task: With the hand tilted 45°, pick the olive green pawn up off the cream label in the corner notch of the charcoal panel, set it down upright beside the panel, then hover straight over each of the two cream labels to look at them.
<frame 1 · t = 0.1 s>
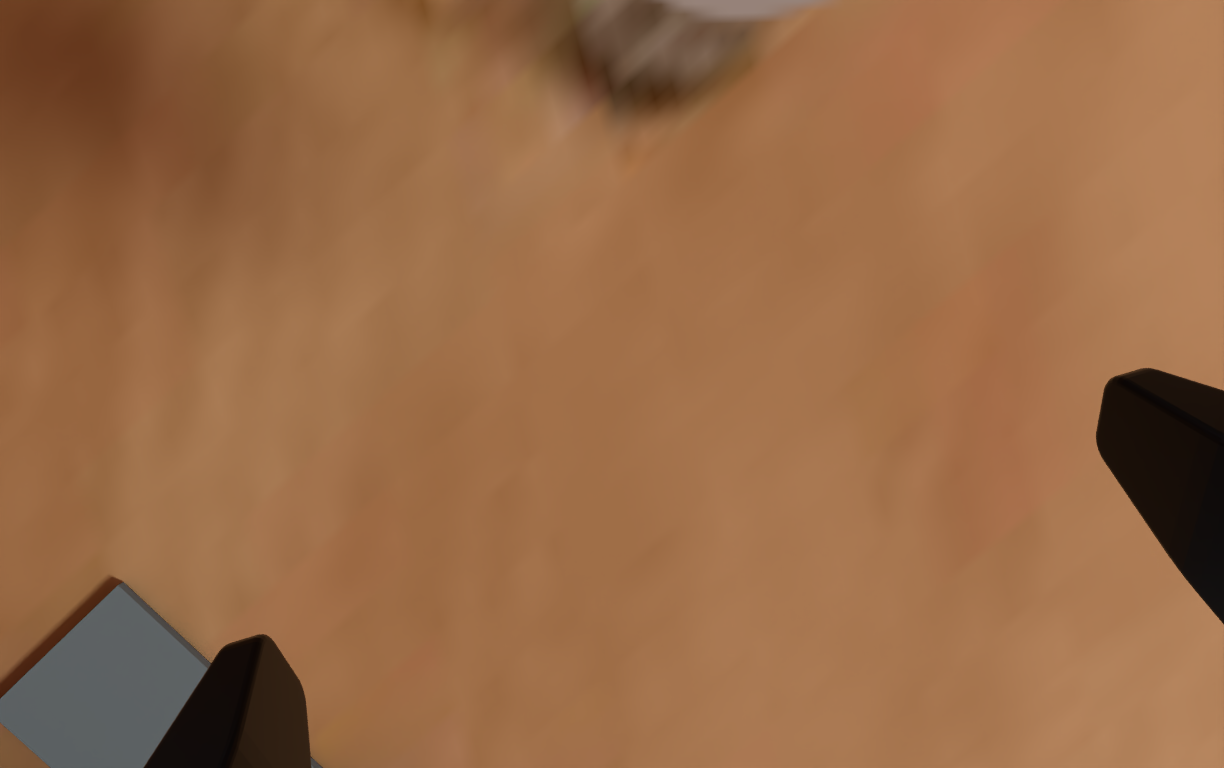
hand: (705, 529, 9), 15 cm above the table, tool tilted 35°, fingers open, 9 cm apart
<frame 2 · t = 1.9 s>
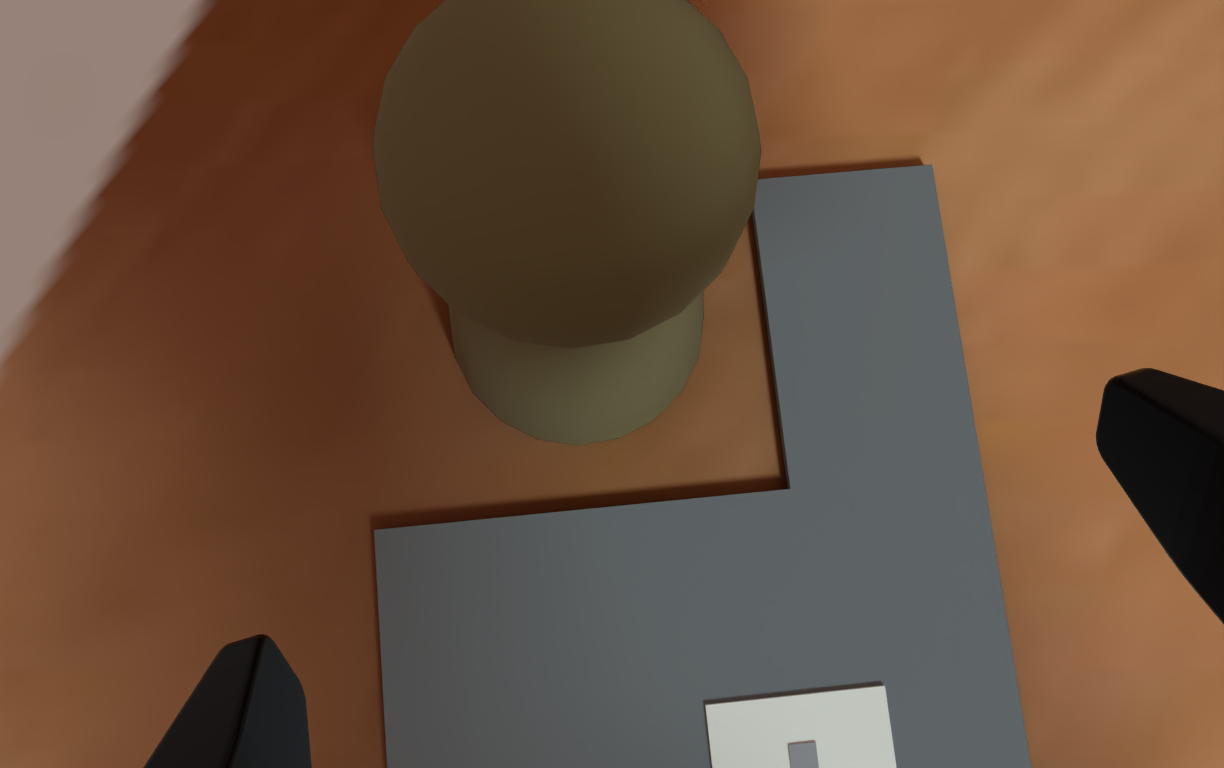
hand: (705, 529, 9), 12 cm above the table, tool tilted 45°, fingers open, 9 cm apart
label panel: (693, 610, 21), on the table
olive green pawn: (577, 320, 22), on the table, touching label panel
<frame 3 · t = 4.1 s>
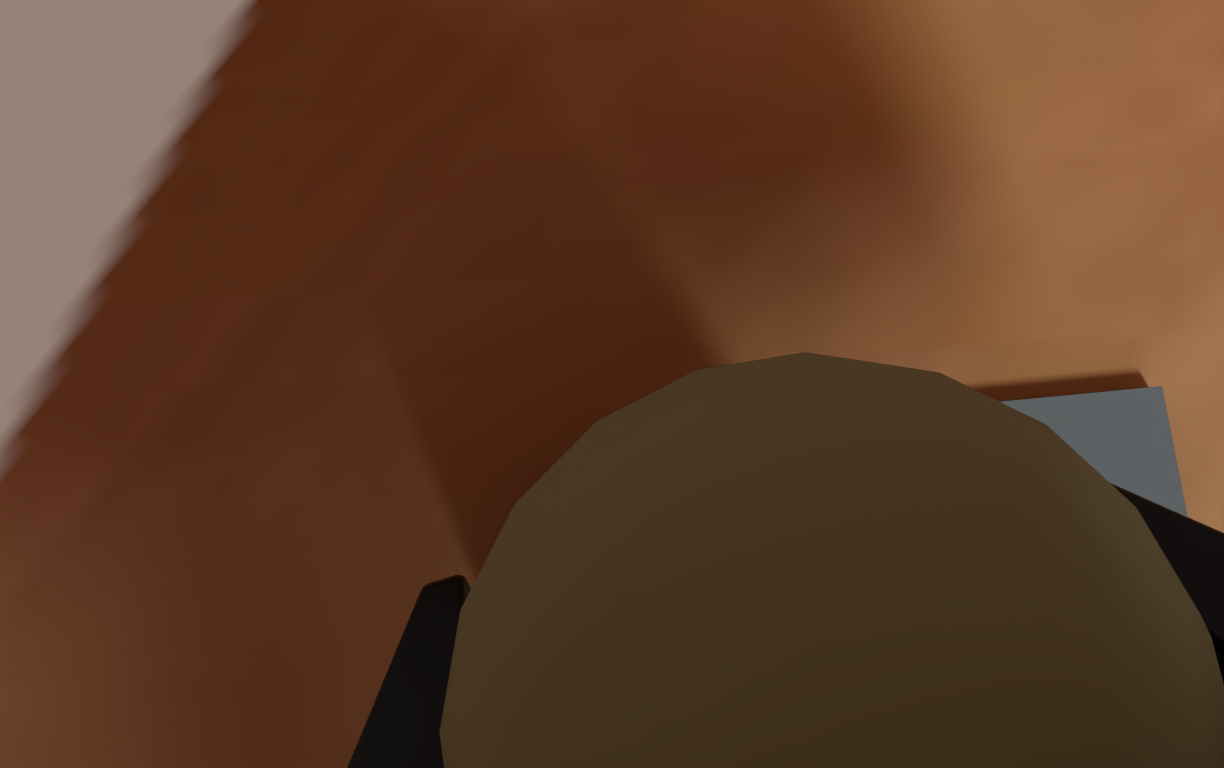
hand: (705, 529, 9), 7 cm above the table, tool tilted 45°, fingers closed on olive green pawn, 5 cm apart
olive green pawn: (679, 607, 16), on the table, touching gripper, label panel
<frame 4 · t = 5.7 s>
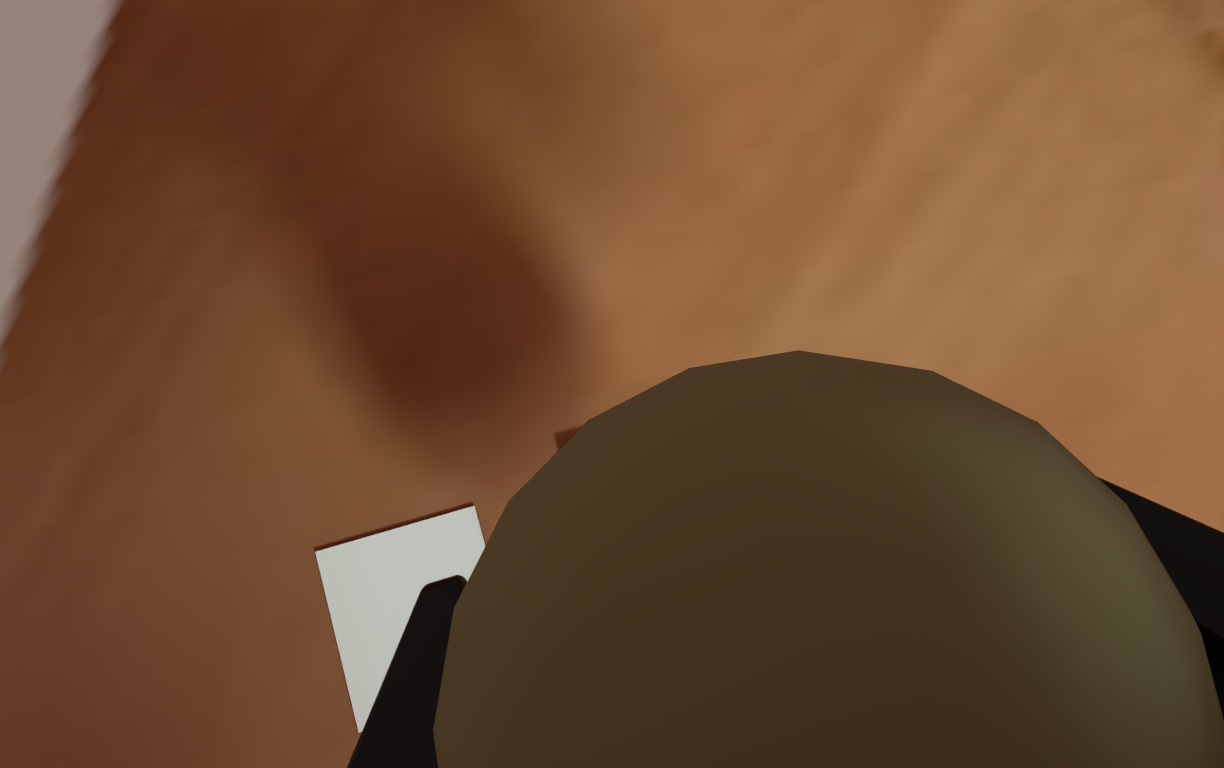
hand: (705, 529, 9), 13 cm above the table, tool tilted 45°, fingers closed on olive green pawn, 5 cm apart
olive green pawn: (672, 605, 16), point 7 cm above the table, touching gripper
when the fingers open (8 cm above the table, at t = 7.8 s): olive green pawn drops 1 cm, on the table.
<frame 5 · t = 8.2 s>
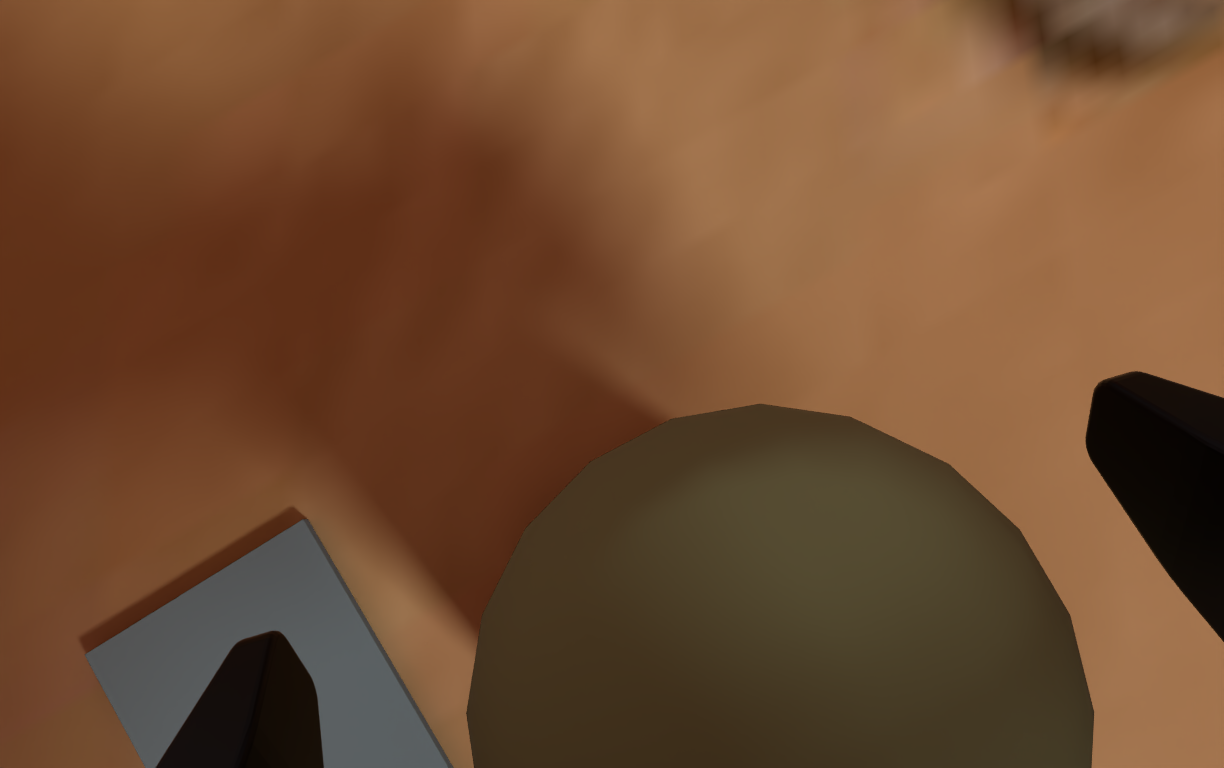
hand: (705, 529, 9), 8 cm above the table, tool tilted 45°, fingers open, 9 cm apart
olive green pawn: (670, 609, 17), on the table
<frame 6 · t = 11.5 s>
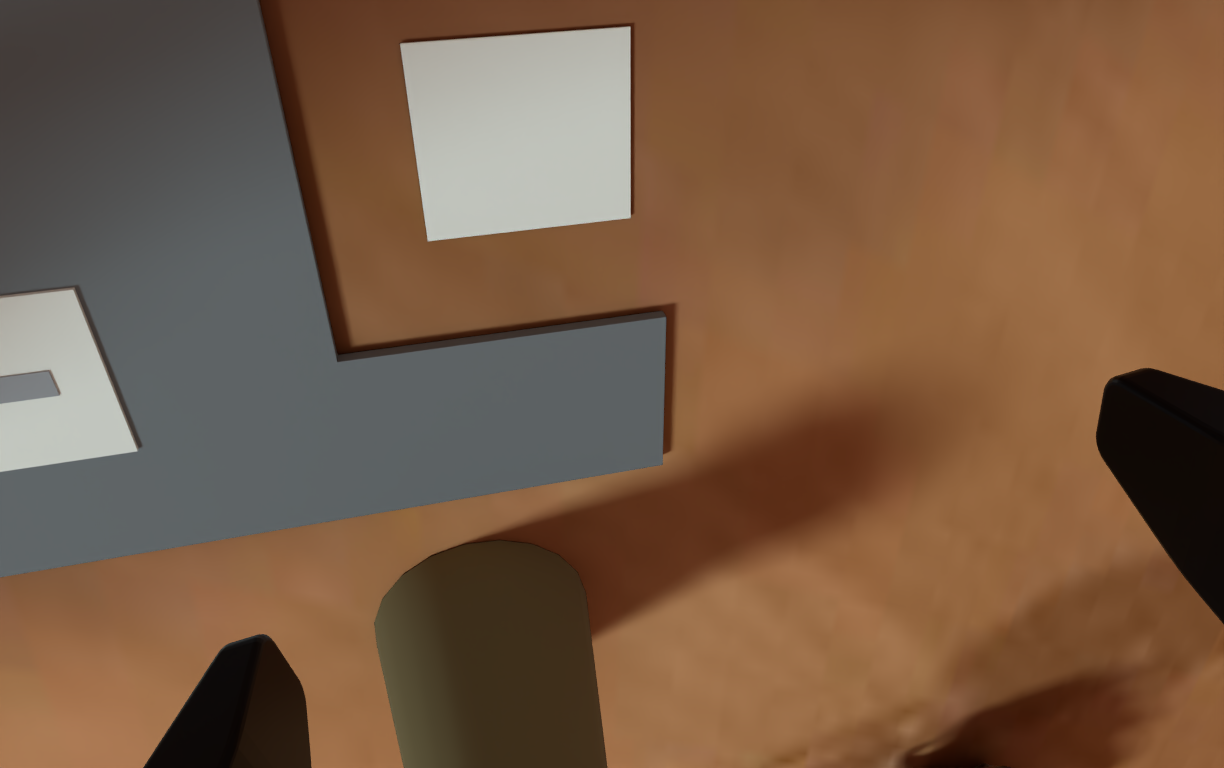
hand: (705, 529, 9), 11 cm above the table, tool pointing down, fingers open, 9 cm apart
label panel: (185, 267, 18), on the table
olive green pawn: (482, 613, 26), on the table
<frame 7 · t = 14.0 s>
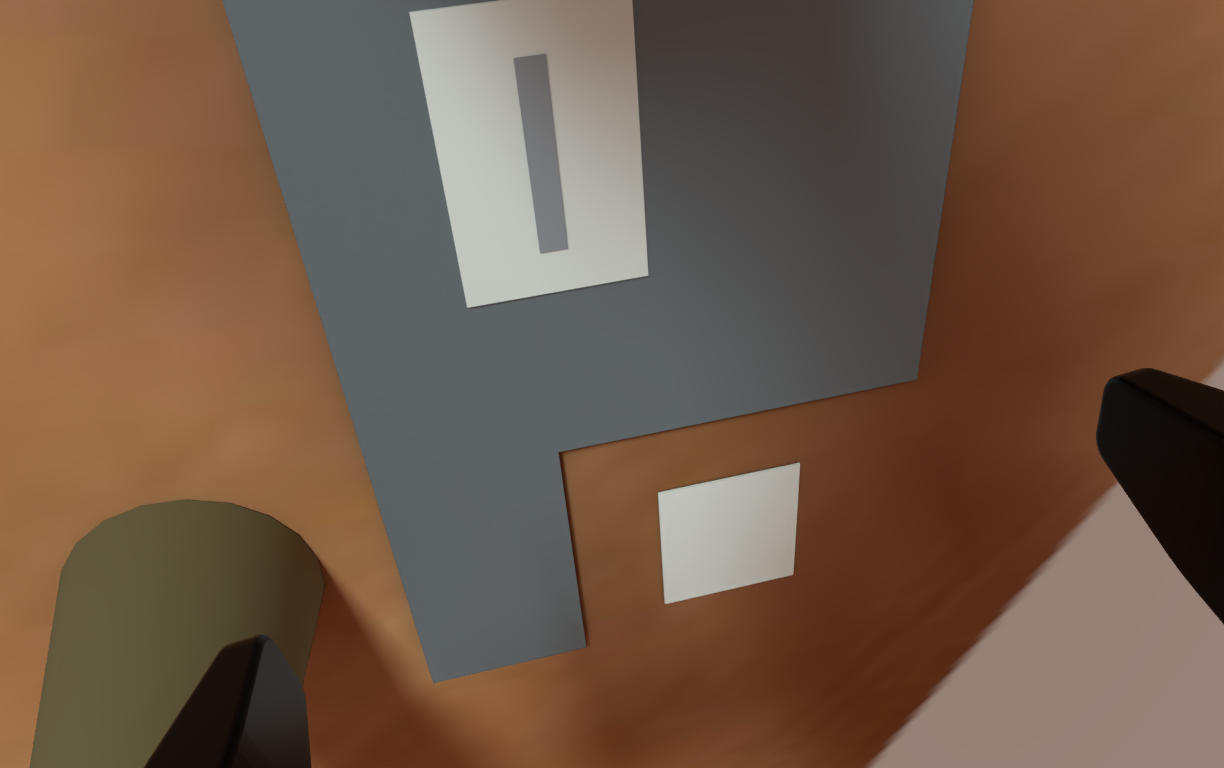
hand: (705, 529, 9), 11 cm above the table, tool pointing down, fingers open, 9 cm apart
label panel: (648, 342, 21), on the table
olive green pawn: (198, 585, 23), on the table
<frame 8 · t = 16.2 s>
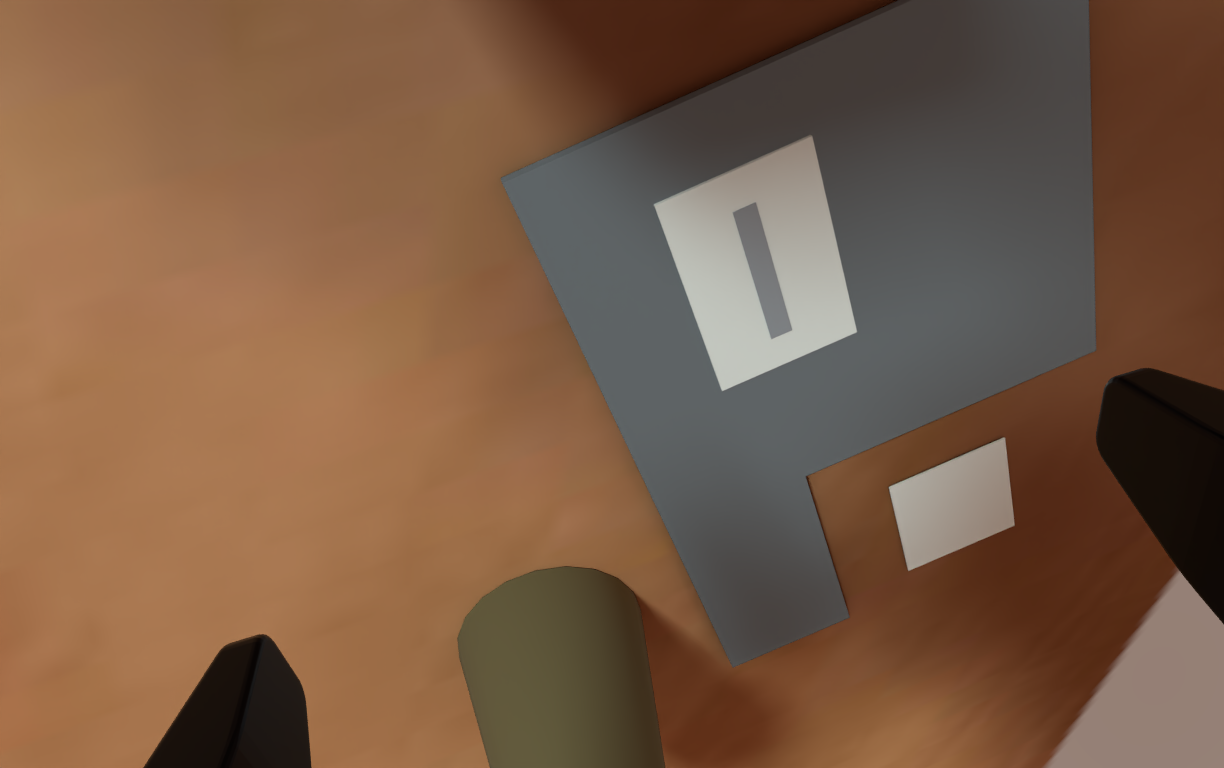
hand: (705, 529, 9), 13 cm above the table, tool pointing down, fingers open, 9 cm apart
label panel: (863, 377, 26), on the table
olive green pawn: (550, 628, 30), on the table
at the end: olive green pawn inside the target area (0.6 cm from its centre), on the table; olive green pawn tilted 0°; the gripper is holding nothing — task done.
